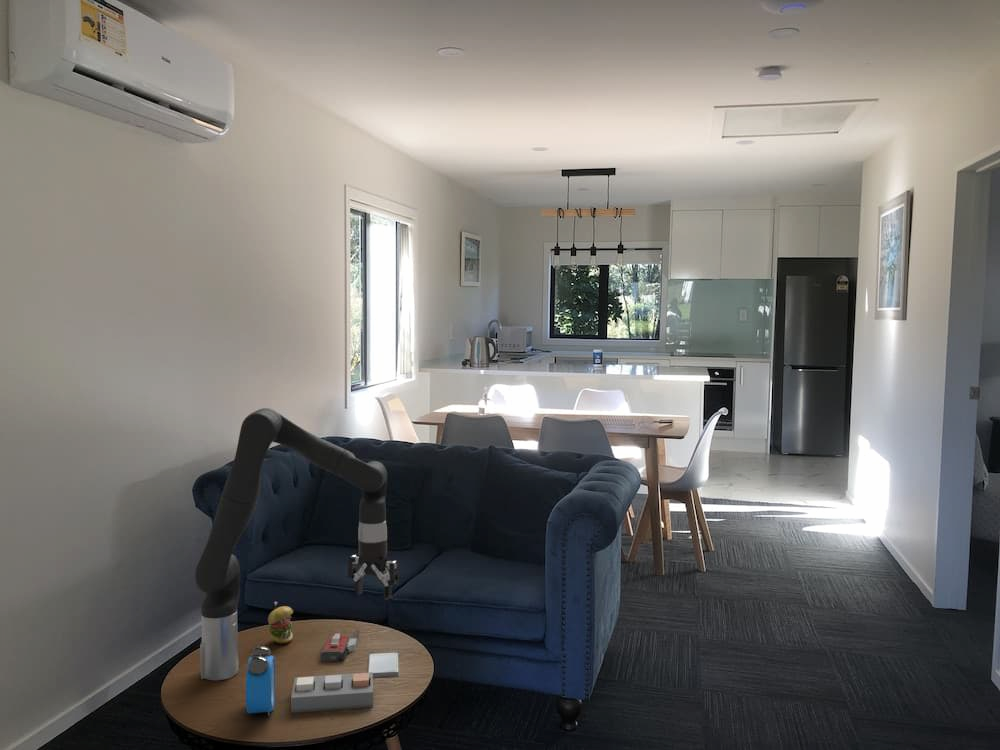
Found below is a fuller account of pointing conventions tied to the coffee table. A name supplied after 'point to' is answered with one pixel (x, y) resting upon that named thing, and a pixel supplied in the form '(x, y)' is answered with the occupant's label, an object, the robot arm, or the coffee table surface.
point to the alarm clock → (260, 681)
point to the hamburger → (280, 624)
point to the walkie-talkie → (338, 647)
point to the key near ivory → (305, 684)
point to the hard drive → (383, 664)
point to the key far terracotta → (361, 680)
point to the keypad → (332, 695)
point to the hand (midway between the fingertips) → (373, 596)
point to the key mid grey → (333, 682)
